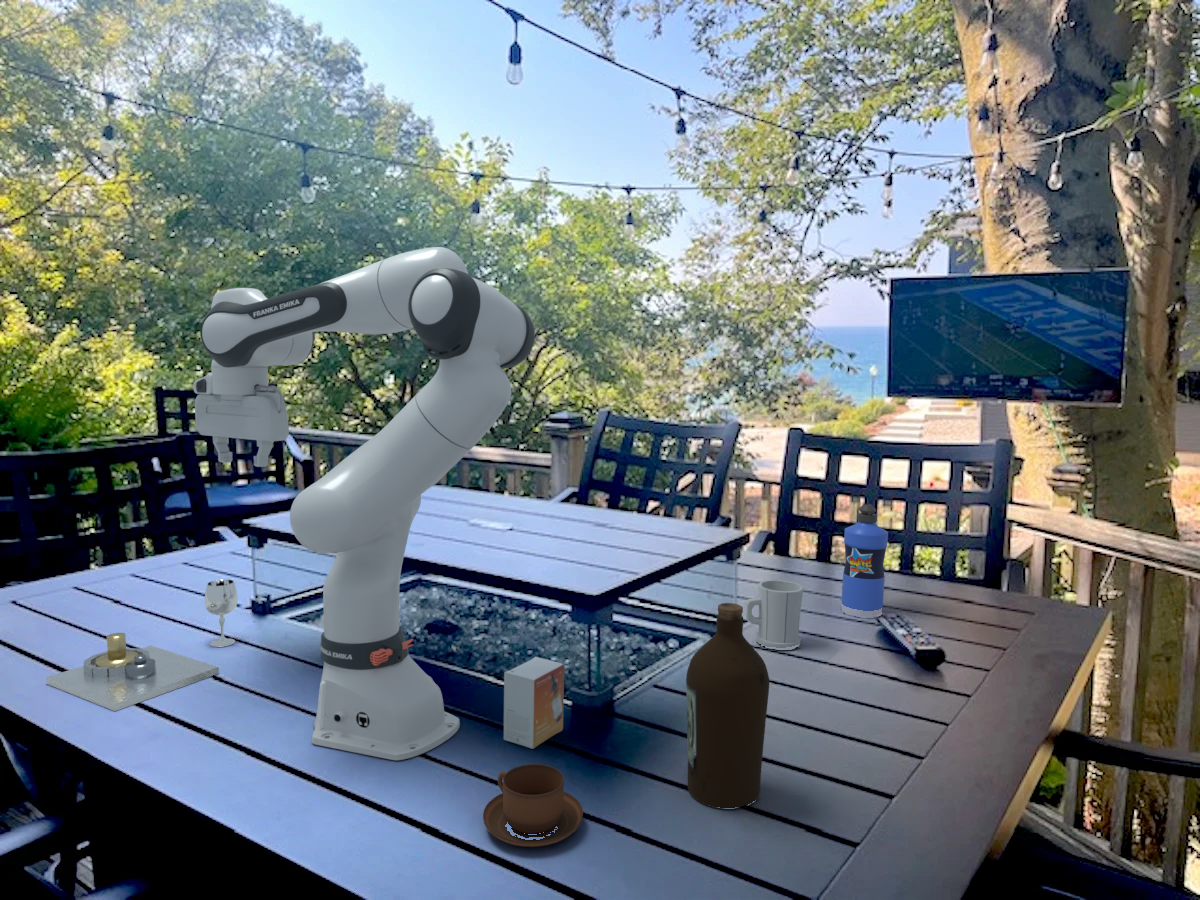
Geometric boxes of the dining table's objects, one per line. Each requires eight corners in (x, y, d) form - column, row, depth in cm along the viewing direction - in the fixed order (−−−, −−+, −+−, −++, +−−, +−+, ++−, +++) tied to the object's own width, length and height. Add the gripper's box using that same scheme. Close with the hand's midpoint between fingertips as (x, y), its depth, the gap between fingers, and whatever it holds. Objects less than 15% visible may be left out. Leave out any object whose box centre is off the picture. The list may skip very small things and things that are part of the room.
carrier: (218, 673, 141) (218, 649, 141) (114, 711, 126) (113, 684, 125) (150, 651, 151) (149, 628, 150) (46, 683, 135) (45, 658, 135)
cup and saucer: (464, 843, 94) (464, 793, 93) (511, 792, 105) (511, 747, 104) (558, 868, 89) (559, 815, 89) (597, 812, 100) (598, 765, 100)
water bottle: (848, 603, 190) (853, 499, 187) (888, 611, 185) (894, 504, 182) (834, 613, 183) (840, 504, 180) (875, 621, 177) (882, 509, 174)
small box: (532, 750, 116) (533, 680, 114) (502, 740, 119) (502, 671, 117) (564, 729, 122) (565, 663, 121) (534, 720, 125) (535, 655, 124)
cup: (777, 656, 155) (780, 596, 153) (740, 643, 161) (742, 585, 160) (809, 645, 161) (812, 587, 160) (772, 633, 168) (774, 577, 167)
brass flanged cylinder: (146, 663, 142) (145, 633, 141) (110, 676, 136) (109, 644, 136) (123, 657, 145) (122, 627, 144) (87, 669, 139) (86, 637, 138)
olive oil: (763, 774, 110) (771, 597, 107) (765, 817, 100) (774, 622, 97) (685, 766, 112) (691, 592, 109) (679, 808, 101) (686, 616, 99)
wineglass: (226, 649, 153) (224, 588, 151) (199, 646, 154) (197, 585, 153) (245, 639, 158) (243, 579, 157) (219, 636, 159) (217, 577, 158)
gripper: (297, 385, 135) (299, 467, 137) (219, 382, 145) (222, 458, 147) (265, 386, 130) (267, 471, 131) (186, 382, 140) (190, 461, 141)
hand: (243, 464), depth 139 cm, fingers open, 8 cm apart
